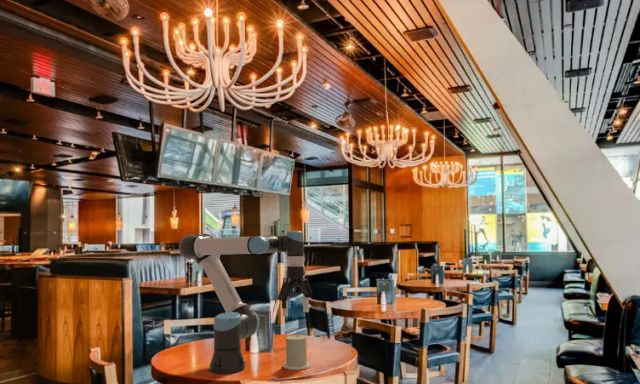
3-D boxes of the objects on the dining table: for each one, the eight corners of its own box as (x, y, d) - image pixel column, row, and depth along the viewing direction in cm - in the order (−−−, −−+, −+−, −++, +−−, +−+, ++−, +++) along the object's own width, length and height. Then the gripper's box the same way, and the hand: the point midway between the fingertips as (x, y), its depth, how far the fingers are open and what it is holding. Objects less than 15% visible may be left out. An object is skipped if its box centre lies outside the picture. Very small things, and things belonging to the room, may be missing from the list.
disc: (287, 371, 218) (287, 368, 218) (279, 364, 229) (279, 362, 229) (314, 368, 222) (314, 365, 222) (305, 361, 233) (305, 359, 233)
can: (308, 361, 230) (308, 334, 231) (305, 366, 221) (304, 338, 221) (288, 361, 231) (287, 334, 232) (284, 366, 222) (283, 338, 222)
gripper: (307, 263, 241) (308, 309, 239) (269, 267, 222) (269, 317, 220) (319, 264, 236) (320, 311, 234) (282, 267, 217) (282, 318, 215)
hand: (295, 314), depth 227 cm, fingers open, 13 cm apart
